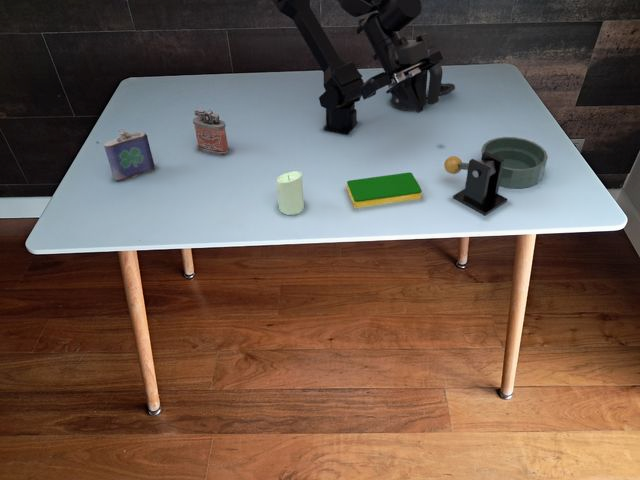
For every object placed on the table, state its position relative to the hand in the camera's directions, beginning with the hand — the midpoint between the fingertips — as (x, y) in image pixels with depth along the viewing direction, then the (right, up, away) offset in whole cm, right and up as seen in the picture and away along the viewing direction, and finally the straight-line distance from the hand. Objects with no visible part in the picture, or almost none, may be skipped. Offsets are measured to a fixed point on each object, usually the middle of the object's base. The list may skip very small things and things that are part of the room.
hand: (421, 111), depth 120 cm
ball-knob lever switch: (+11, -19, -2) cm, 22 cm away
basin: (+20, -12, +5) cm, 24 cm away
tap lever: (+9, -13, -3) cm, 17 cm away
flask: (-62, -12, +10) cm, 64 cm away
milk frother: (+6, +10, +33) cm, 35 cm away
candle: (-26, -20, -2) cm, 33 cm away
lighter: (-45, -6, +17) cm, 49 cm away
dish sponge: (-8, -17, +1) cm, 19 cm away
